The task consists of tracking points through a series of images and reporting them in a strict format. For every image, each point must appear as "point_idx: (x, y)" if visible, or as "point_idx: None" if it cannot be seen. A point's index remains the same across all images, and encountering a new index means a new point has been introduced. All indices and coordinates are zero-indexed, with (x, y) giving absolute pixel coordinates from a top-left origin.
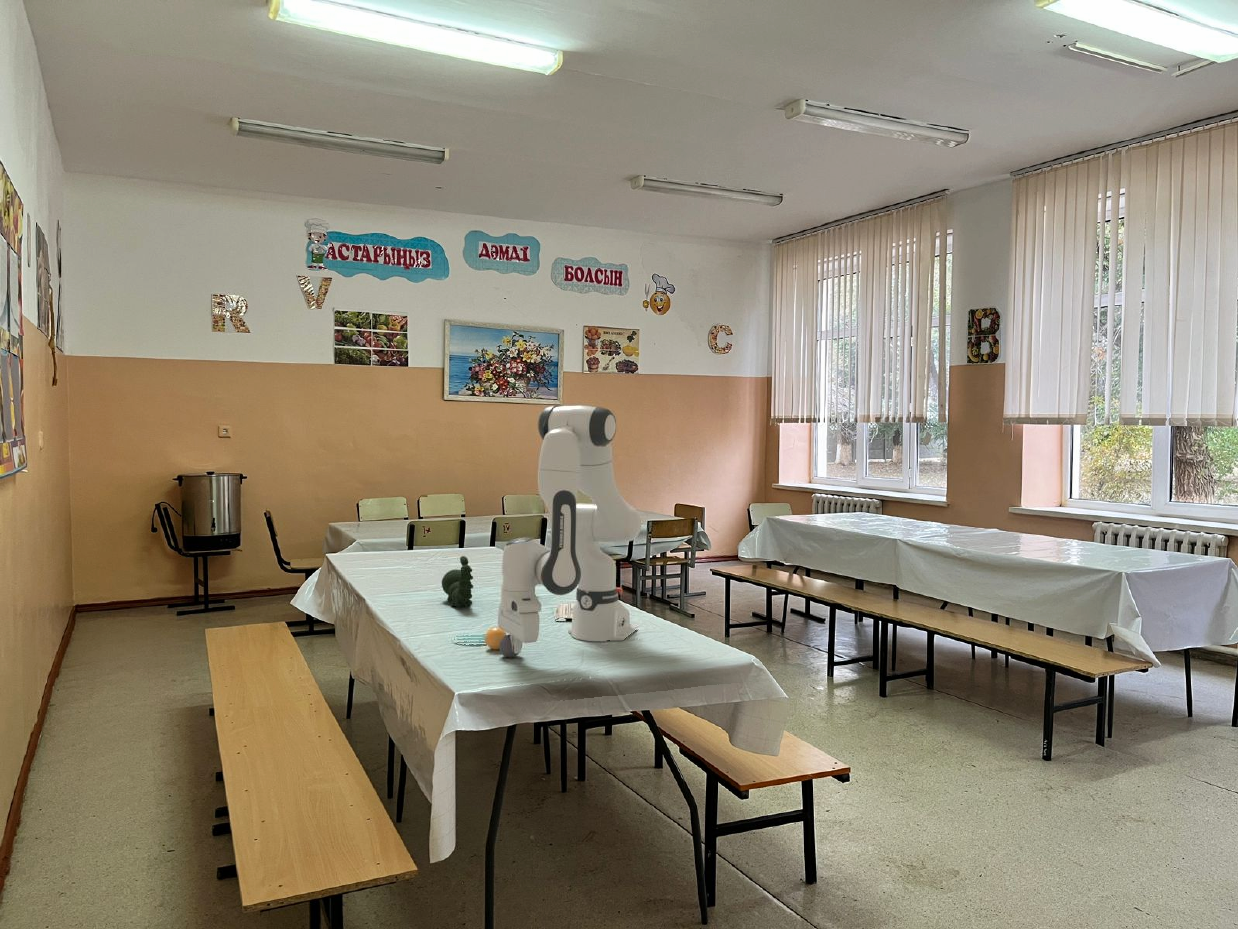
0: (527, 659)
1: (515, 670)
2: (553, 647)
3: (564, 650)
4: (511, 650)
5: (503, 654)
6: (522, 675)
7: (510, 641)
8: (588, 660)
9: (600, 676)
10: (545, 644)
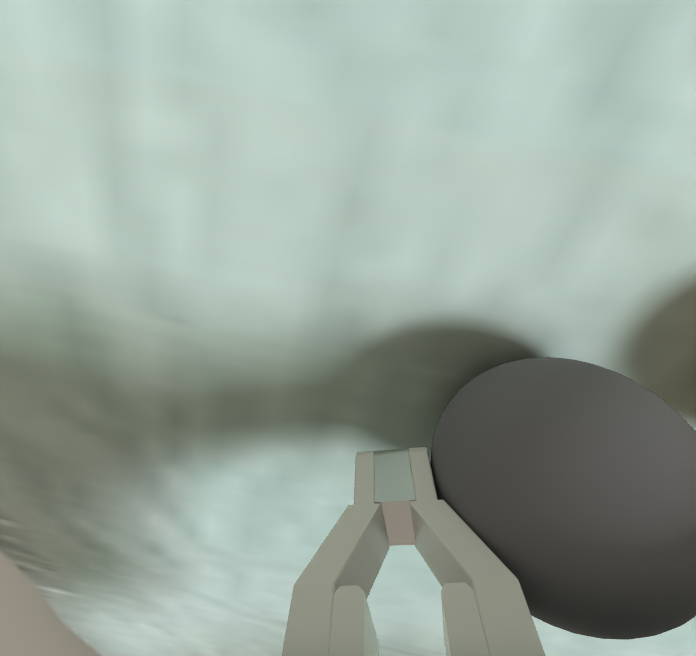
0: None
1: (145, 357)
2: None
3: None
4: (433, 448)
5: (498, 365)
6: (28, 372)
7: (483, 530)
8: None
9: (71, 612)
10: None
